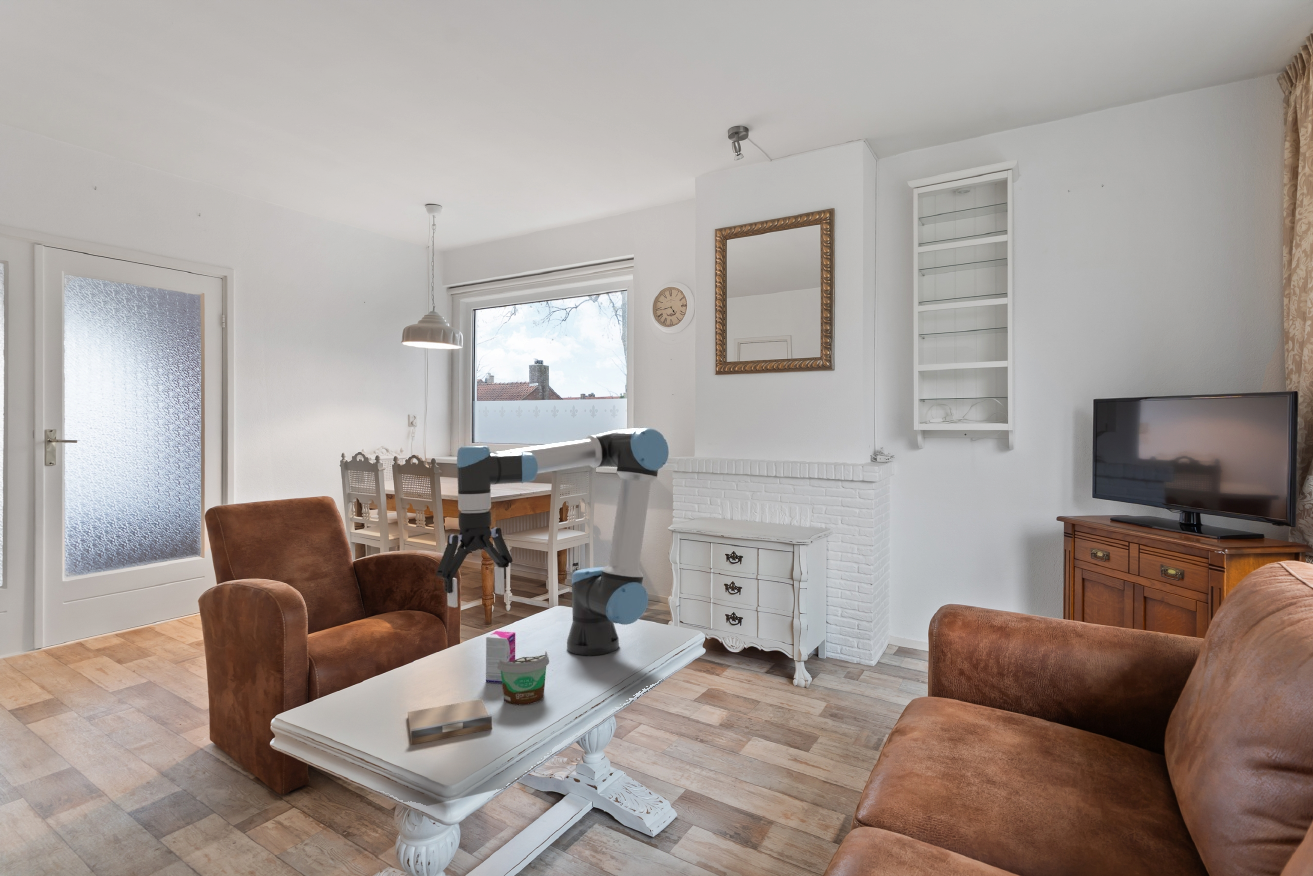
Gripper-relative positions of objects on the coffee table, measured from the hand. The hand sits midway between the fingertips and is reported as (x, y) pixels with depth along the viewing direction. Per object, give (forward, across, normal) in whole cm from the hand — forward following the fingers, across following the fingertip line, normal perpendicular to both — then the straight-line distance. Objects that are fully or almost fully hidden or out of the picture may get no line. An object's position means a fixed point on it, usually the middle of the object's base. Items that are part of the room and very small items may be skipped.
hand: (477, 600), depth 154 cm
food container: (+24, -5, +11) cm, 27 cm away
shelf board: (+23, +13, +6) cm, 27 cm away
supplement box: (+24, -11, -5) cm, 26 cm away
